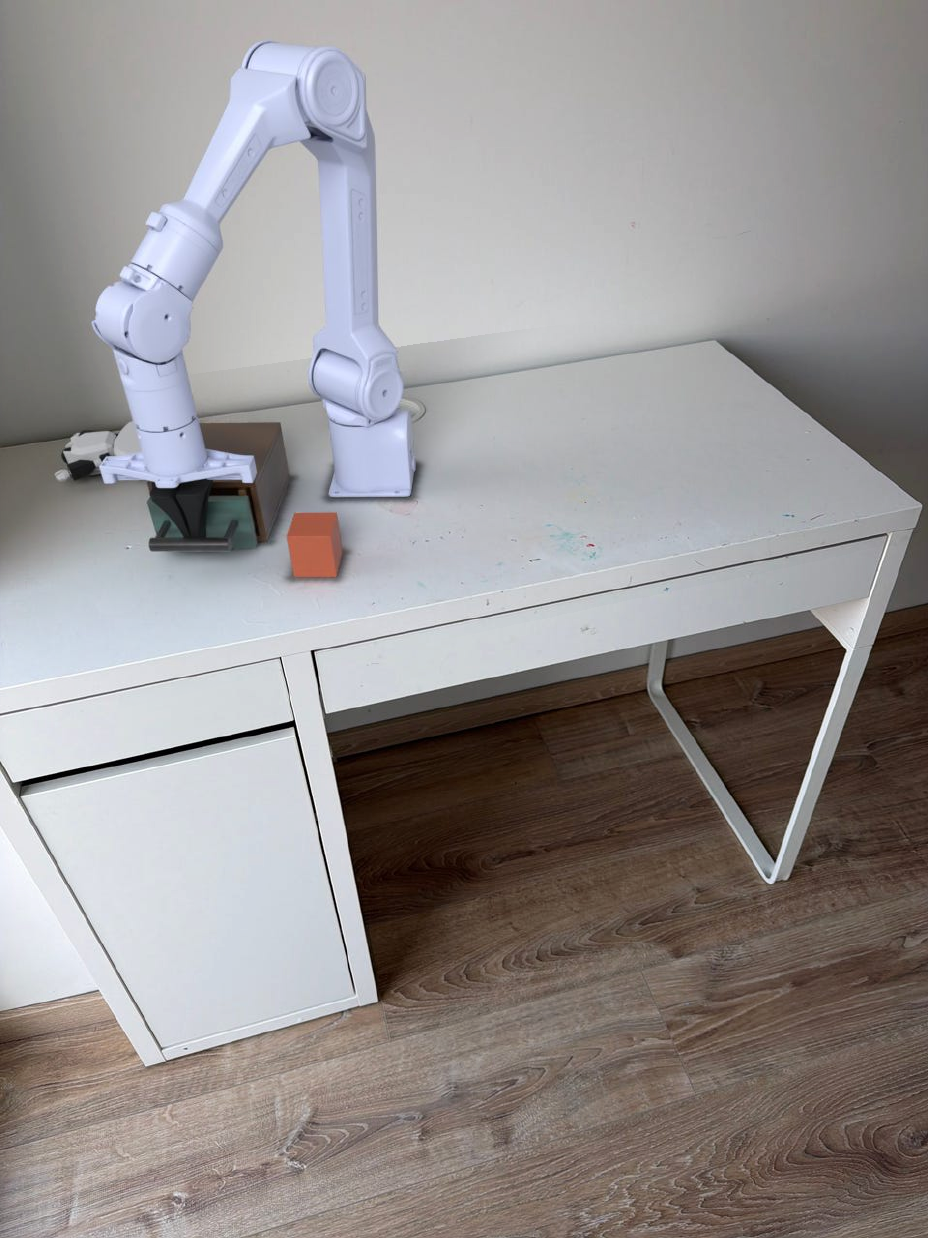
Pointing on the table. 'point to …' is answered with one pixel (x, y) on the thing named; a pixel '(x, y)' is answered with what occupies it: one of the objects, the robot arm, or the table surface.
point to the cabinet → (269, 461)
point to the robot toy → (96, 451)
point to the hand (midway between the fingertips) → (197, 540)
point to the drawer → (210, 524)
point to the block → (315, 544)
